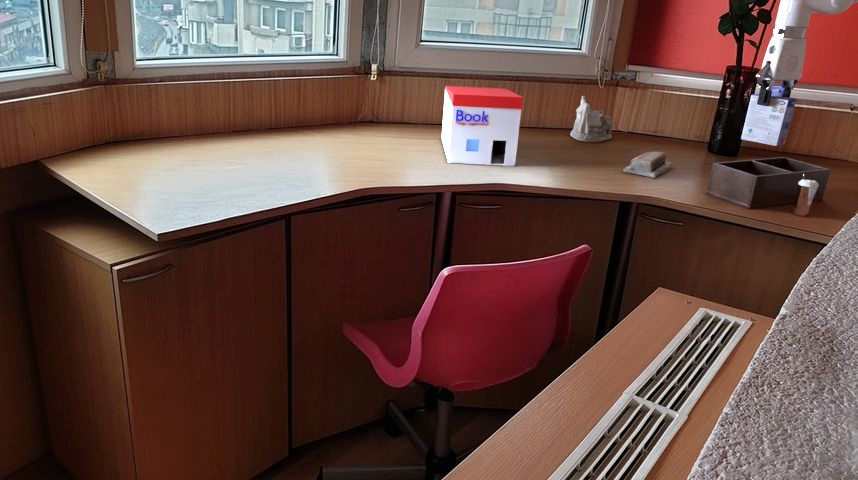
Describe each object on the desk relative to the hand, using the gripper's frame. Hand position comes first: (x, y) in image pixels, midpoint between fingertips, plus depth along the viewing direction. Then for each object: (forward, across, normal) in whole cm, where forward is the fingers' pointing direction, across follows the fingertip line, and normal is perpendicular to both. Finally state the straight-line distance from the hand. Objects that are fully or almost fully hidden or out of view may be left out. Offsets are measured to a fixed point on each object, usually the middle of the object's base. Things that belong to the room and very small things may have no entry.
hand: (772, 104), depth 188 cm
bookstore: (+26, -48, +68) cm, 87 cm away
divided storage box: (+26, +5, 0) cm, 26 cm away
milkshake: (+26, +1, -15) cm, 30 cm away
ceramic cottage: (+26, +7, +77) cm, 81 cm away
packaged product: (+26, -7, +32) cm, 42 cm away
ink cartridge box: (+10, 0, 0) cm, 10 cm away
